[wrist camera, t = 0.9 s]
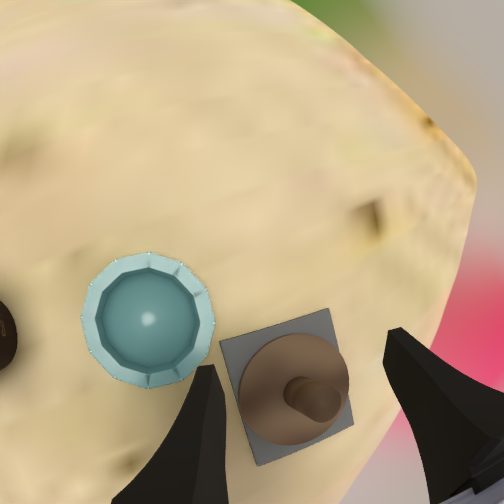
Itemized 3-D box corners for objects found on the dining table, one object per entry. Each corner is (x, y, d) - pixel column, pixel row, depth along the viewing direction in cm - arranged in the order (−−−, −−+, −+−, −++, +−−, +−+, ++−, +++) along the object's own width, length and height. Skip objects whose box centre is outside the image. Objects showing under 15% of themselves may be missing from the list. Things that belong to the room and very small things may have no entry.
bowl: (218, 360, 24) (228, 368, 21) (110, 386, 22) (103, 398, 18) (190, 251, 25) (195, 242, 22) (82, 274, 22) (70, 269, 19)
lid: (352, 416, 26) (386, 430, 22) (255, 457, 23) (276, 484, 18) (331, 319, 27) (366, 318, 23) (223, 353, 24) (240, 363, 19)
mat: (351, 423, 27) (354, 424, 26) (256, 464, 23) (258, 466, 23) (326, 308, 28) (329, 308, 28) (219, 341, 25) (220, 341, 24)
